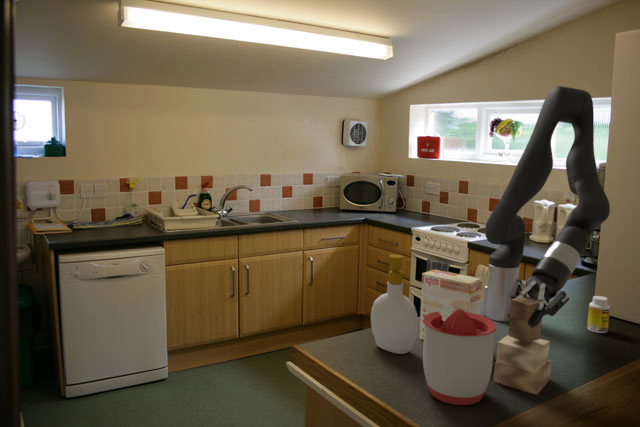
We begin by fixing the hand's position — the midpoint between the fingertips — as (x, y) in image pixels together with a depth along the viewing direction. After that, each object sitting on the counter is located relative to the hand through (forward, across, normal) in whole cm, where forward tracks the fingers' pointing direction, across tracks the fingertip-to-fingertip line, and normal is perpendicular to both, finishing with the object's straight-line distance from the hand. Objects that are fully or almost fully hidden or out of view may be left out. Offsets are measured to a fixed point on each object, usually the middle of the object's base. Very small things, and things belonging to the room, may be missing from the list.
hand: (520, 321), depth 124 cm
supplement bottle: (-24, -10, +46) cm, 53 cm away
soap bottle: (+20, -30, +2) cm, 36 cm away
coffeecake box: (+8, -26, +13) cm, 30 cm away
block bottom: (+9, 0, +12) cm, 15 cm away
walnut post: (+2, 0, +4) cm, 5 cm away
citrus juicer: (+22, -4, -1) cm, 23 cm away
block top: (+6, 0, +9) cm, 10 cm away
